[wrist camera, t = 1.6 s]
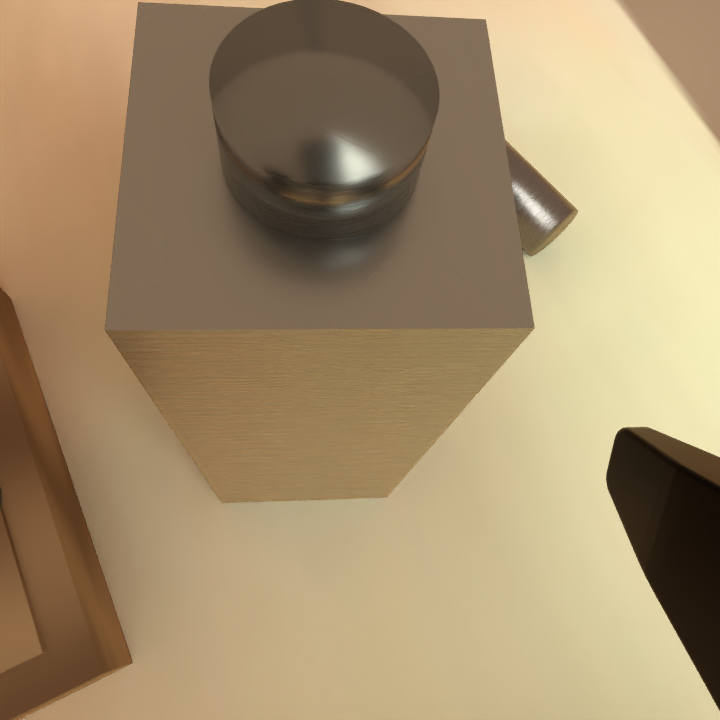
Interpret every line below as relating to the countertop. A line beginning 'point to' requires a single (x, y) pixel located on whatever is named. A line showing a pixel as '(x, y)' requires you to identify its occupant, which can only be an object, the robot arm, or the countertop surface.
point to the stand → (44, 553)
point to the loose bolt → (536, 205)
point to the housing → (313, 240)
